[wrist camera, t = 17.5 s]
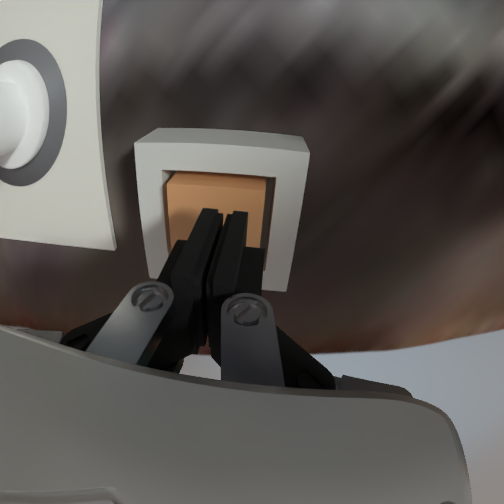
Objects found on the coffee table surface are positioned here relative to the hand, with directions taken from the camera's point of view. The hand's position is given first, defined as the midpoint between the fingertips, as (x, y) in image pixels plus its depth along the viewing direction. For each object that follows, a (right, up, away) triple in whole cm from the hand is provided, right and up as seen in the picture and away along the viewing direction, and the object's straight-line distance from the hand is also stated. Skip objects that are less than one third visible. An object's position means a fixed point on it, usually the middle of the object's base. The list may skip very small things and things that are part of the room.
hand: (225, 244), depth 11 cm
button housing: (0, +3, +4) cm, 5 cm away
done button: (0, +2, +3) cm, 4 cm away
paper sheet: (-14, +8, +1) cm, 16 cm away
